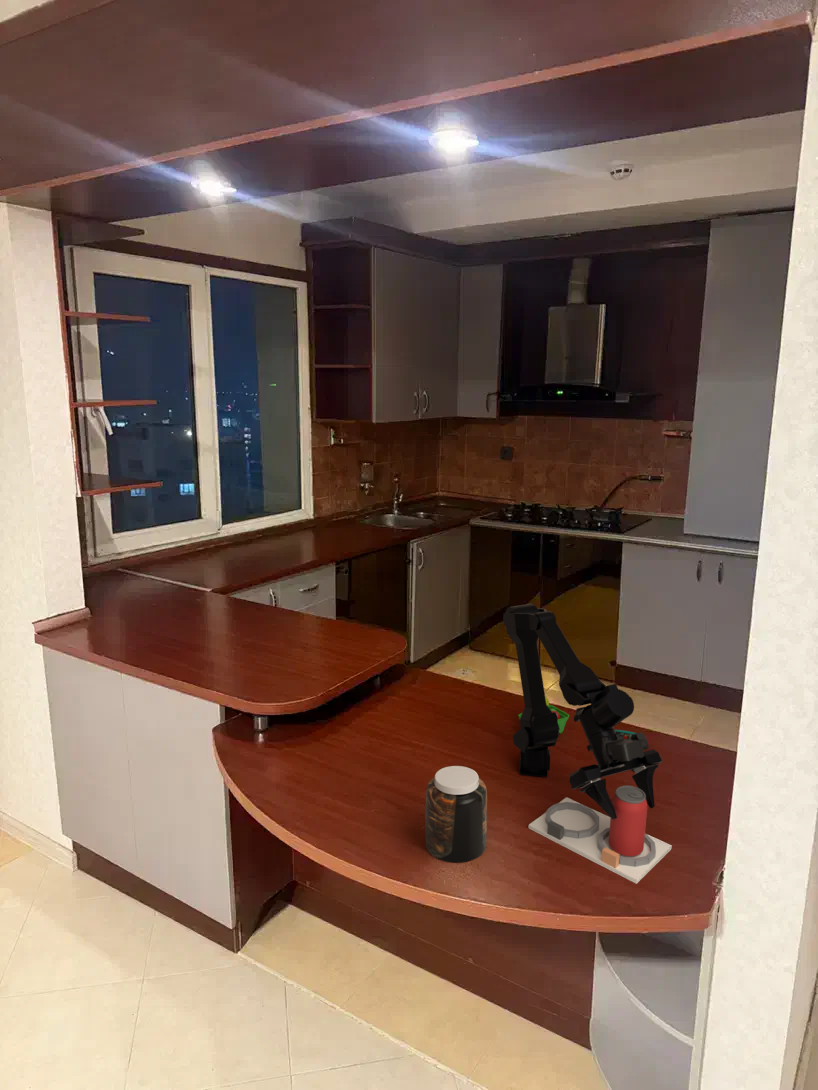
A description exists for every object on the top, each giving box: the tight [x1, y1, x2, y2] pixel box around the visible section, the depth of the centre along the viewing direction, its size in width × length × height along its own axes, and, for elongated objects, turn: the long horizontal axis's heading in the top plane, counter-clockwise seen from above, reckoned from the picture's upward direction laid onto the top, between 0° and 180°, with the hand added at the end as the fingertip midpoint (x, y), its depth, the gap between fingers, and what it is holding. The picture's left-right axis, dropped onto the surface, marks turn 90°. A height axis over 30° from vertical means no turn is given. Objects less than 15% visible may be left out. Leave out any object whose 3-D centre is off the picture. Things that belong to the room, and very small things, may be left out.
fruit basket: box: [517, 695, 570, 734], centre depth 191 cm, size 11×9×11 cm
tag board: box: [528, 797, 673, 885], centre depth 148 cm, size 24×14×3 cm, turn 45°
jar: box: [425, 765, 488, 864], centre depth 145 cm, size 12×12×15 cm
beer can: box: [609, 784, 649, 857], centre depth 143 cm, size 7×7×12 cm
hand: (634, 813), depth 141 cm, fingers open, 9 cm apart
